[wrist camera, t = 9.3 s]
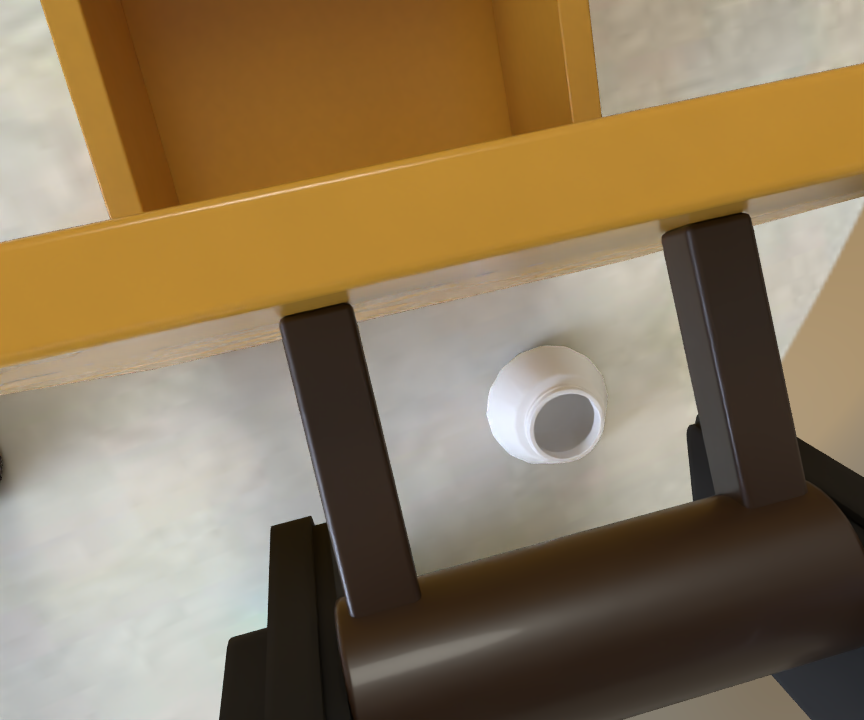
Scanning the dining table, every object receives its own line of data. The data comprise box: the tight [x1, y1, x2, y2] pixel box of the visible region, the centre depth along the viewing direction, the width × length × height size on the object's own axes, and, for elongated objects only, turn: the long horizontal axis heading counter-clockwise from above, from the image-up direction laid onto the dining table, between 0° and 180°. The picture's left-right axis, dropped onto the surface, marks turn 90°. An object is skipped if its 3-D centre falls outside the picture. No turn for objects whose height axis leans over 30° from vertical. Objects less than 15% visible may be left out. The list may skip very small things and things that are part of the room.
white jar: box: [487, 345, 608, 464], centre depth 31 cm, size 5×3×5 cm
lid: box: [0, 63, 864, 720], centre depth 14 cm, size 17×14×5 cm
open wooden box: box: [40, 0, 602, 219], centre depth 23 cm, size 16×14×7 cm
